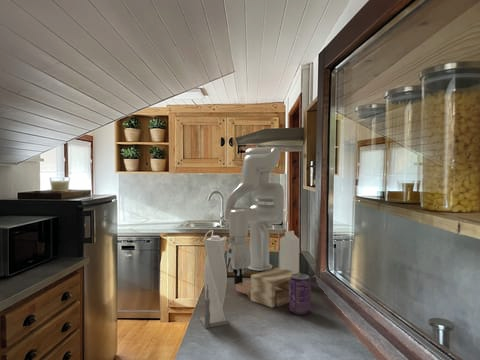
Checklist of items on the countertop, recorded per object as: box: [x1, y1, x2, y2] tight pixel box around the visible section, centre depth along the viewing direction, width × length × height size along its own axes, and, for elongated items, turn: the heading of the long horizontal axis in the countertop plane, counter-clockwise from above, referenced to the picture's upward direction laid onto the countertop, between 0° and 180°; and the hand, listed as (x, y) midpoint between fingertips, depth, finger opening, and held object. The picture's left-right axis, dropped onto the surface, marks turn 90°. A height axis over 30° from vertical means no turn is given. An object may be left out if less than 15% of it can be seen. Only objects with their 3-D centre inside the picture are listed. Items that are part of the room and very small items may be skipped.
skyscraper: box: [198, 229, 228, 329], centre depth 107 cm, size 8×8×28 cm
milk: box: [279, 230, 300, 273], centre depth 147 cm, size 6×6×22 cm
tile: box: [235, 280, 279, 299], centre depth 132 cm, size 16×7×3 cm, turn 43°
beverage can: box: [288, 273, 312, 316], centre depth 114 cm, size 7×7×12 cm
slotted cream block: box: [247, 267, 301, 308], centre depth 128 cm, size 14×16×9 cm
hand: (238, 284), depth 140 cm, fingers closed
